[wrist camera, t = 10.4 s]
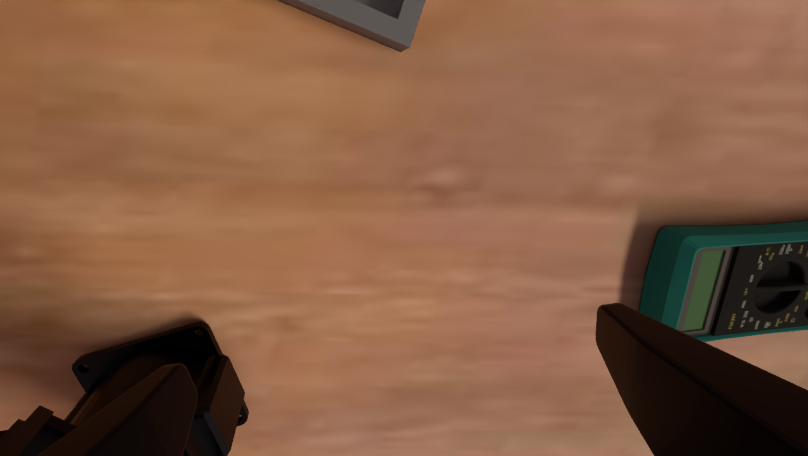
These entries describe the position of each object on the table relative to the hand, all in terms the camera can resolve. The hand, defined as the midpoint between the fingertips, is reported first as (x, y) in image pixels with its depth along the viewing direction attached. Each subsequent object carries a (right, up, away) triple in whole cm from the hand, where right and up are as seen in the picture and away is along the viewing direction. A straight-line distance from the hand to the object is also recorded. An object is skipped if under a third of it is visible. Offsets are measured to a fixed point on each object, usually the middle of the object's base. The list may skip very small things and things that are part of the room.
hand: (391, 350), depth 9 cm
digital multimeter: (+22, 0, +19) cm, 29 cm away
